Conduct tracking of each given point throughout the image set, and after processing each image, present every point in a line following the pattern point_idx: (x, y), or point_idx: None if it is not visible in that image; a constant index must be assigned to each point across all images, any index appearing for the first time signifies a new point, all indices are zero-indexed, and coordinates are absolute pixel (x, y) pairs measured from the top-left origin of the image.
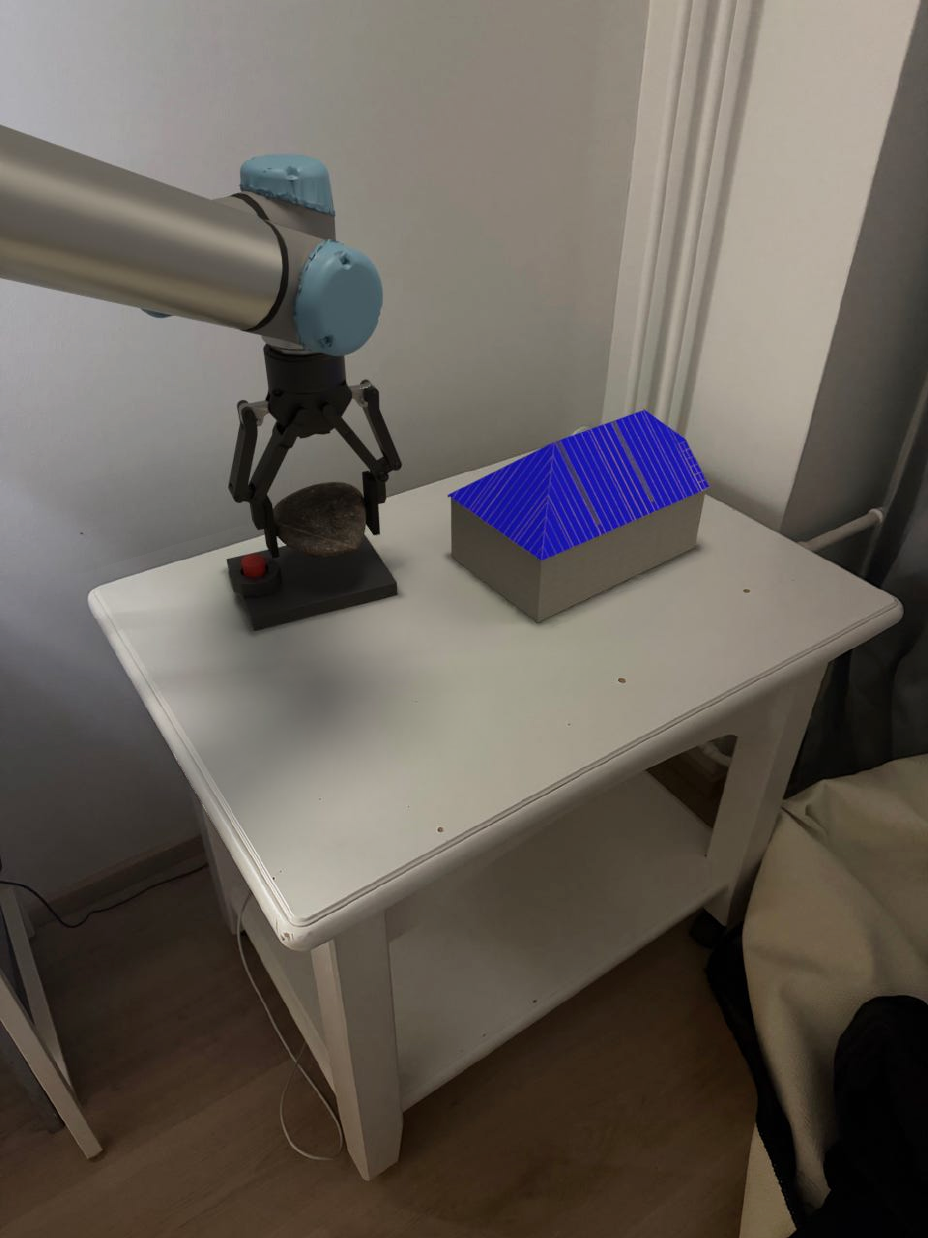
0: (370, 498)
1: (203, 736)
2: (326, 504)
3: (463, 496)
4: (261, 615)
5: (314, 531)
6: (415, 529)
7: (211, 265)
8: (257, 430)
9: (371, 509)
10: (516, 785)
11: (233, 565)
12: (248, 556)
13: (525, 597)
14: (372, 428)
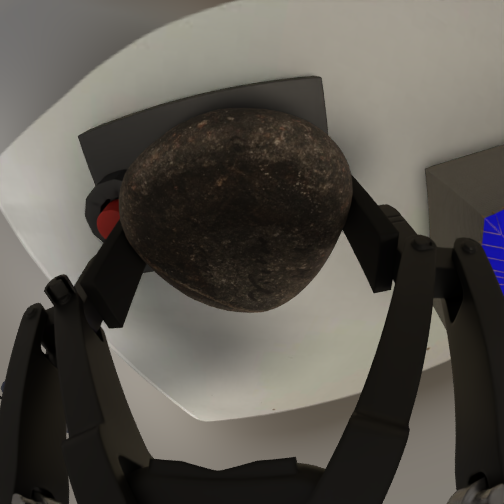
0: (359, 257)
1: (129, 353)
2: (252, 233)
3: (493, 248)
4: (145, 271)
5: (216, 294)
6: (406, 78)
7: None
8: (68, 502)
9: (350, 243)
10: (322, 398)
11: (87, 202)
12: (104, 214)
13: (437, 298)
14: (473, 374)
